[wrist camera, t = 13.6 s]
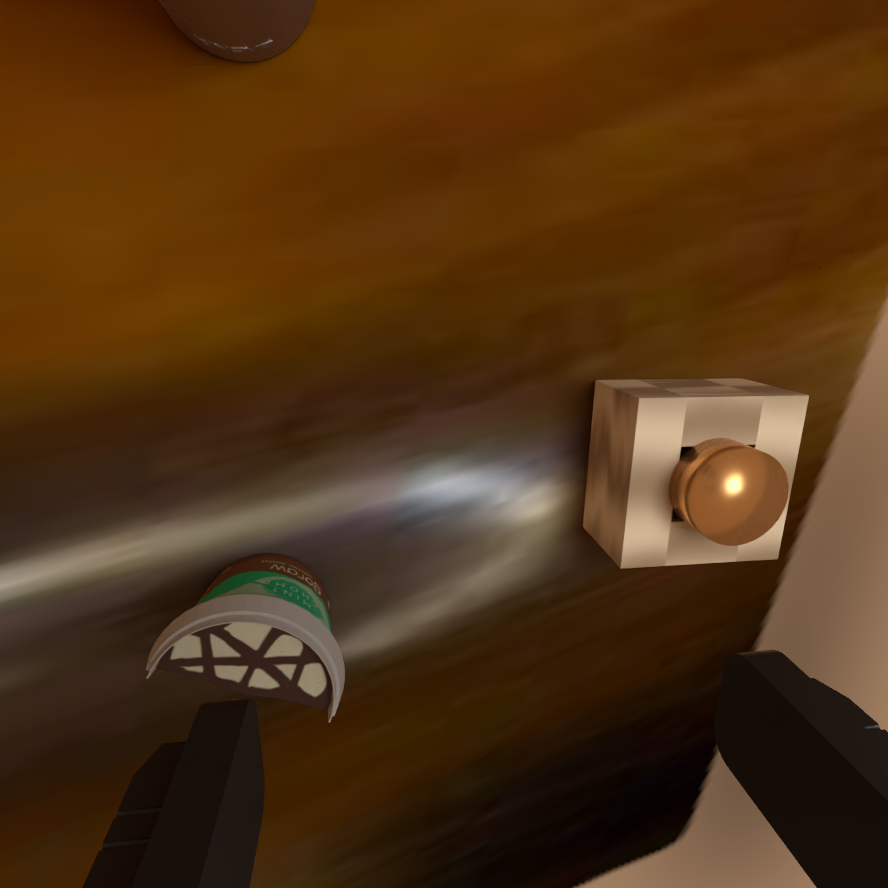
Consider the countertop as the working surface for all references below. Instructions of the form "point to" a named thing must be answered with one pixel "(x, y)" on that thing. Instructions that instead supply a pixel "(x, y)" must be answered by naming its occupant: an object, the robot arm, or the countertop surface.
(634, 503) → the birch block
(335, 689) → the food container
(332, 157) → the countertop surface
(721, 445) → the copper pin
